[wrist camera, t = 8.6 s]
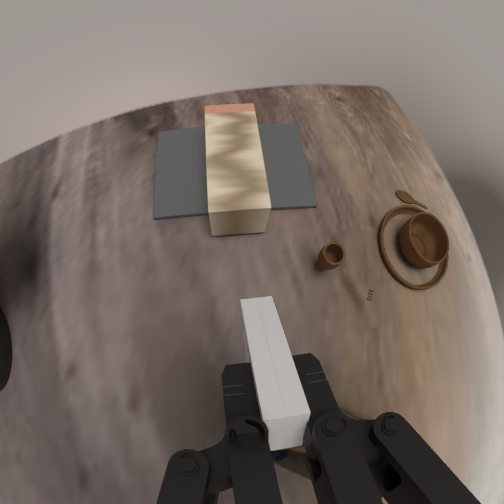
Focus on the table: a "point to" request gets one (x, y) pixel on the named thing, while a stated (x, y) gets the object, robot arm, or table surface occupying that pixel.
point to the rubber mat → (195, 174)
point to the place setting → (404, 243)
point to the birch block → (235, 171)
